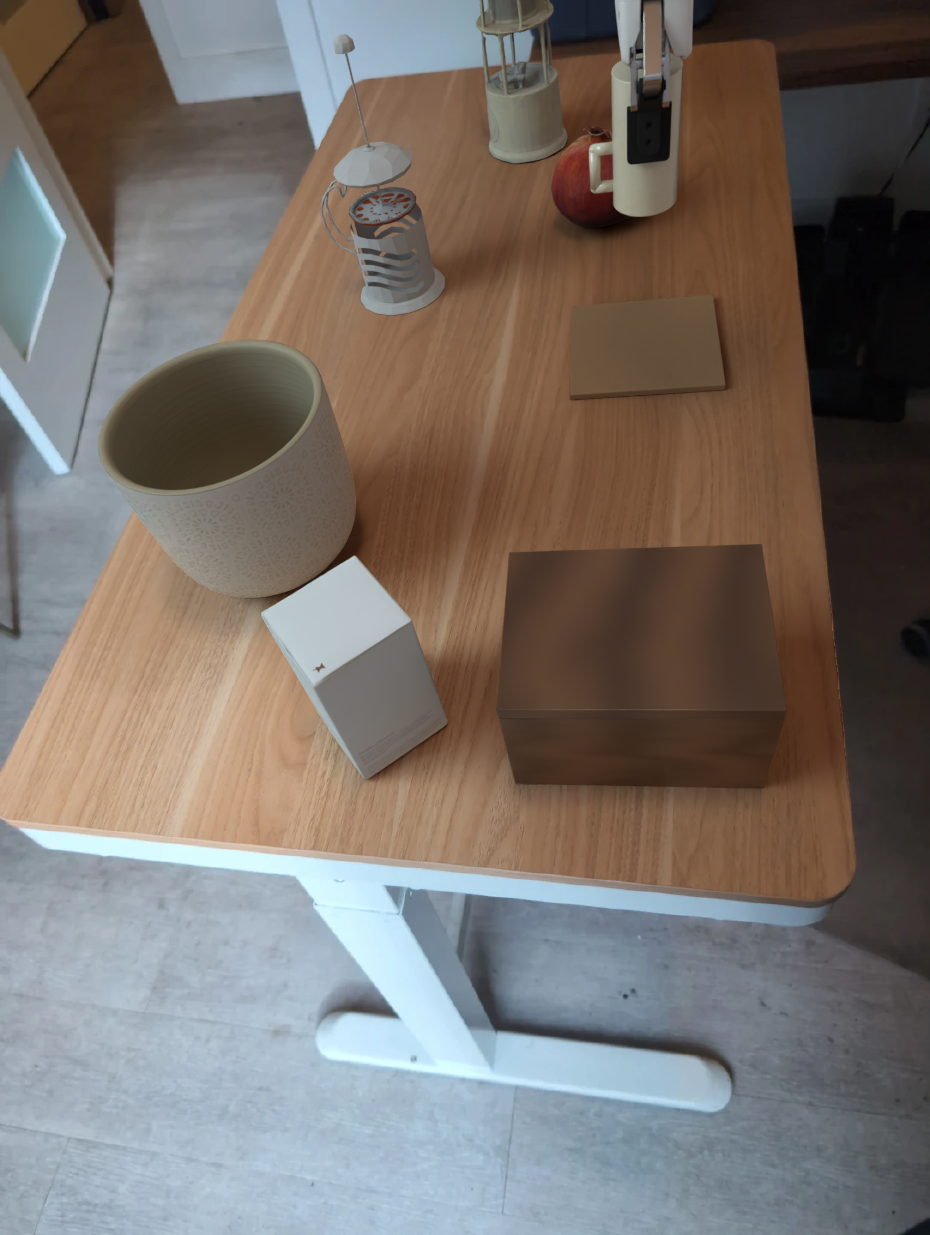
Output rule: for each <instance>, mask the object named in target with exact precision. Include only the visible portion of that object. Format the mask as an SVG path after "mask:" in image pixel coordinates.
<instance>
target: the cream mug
mask: <svg viewBox="0 0 930 1235" xmlns="http://www.w3.org/2000/svg"><path fill="white" fill-rule="evenodd" d="M662 55H664V52H662ZM670 57H671V62H670V100H669V101H672V116H671V141H670V157H669V159H668V160H666V161H660V162H651V163H643V164H634V165H630V164H629V163H628V162H627V106H630V67H629V66H627V65H625V64H624V63H623V62H622V61H621V60H619V61H617V62H616V63H615V64H614V65H613V67H612V68H611V71H610V80H611V82H610V83H611V85H610V86H611V87H610V88H611V132H612V142H604V143H596V144H592V145H591V146H590V148H589V169H590V190H591V192H592V193H595V194H596V193H606V192H613V205H614V207H615V209H616V210H617V211H619V212H620V213H622V214H625V215H629V216H630V217H636V218H637V217H640V218H641V217H642V218H643V217H652V216H655V215H659V214H662V213H664V212H666V211H668V210H669V209H671V208H672V207H673V206H674V205H675V204H676V202H677V198H678V184H679V183H678V182H679V179H678V178H679V163H680V162H679V161H680V160H679V159H680V140H681V139H680V138H681V120H682V119H681V118H682V117H681V116H682V100H683V99H682V98H683V97H682V96H683V78H684V77H683V76H684V61H683V59H682V57H681V56H678V57H675V56H674V53H672V52H670ZM637 58H643V53H640V54H636V59H637ZM639 78H643V69H638V81H639ZM603 155H612V162H613V180H604V181H601V160H600V156H603Z"/></svg>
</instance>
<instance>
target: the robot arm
mask: <svg viewBox="0 0 930 1235" xmlns="http://www.w3.org/2000/svg"><path fill="white" fill-rule="evenodd" d="M614 7H615V19H616V27H617V36H618V44H619V53H620V61H622V62H623V63H624V64H625V65H627V66H629V67H630V106H627V162H628V163H629V164H630V165H634V164H643V163H651V162H660V161H666V160H668V159H669V157H670V141H671V116H672V101H669V100H670V62H671V57H670V53H671V50H672V52H673V53H672V54H674V56H675V57H678V56H679V57H681V59H682V60H687V59H688V58H689V57H690V56H691V54H692V52H693V30H694V29H693V26H694V23H693V22H694V0H614ZM662 52H664V55H662ZM640 53H643V58H637V59H636V54H640ZM638 69H643V78H639V81H638Z"/></svg>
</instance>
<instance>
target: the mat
mask: <svg viewBox="0 0 930 1235" xmlns="http://www.w3.org/2000/svg"><path fill="white" fill-rule="evenodd" d="M571 310H572V311H571V336H570V337H571V338H570V377H569V400H570V401H574V400H590V399H604V398H606V399H607V398H618V397H619V398H621V397H635V396H636V397H637V396H649V395H650V396H651V395H652V396H653V395H664V394H665V395H666V394H681V393H698V392H712V391H713V392H714V391H725V390H726V377H725V371H724V370H725V369H724V363H723V356H722V350H721V342H720V336H719V328H718V321H717V320H718V319H717V314H716V306H715V298H714V294H713V293H712V294H702V295H701V294H700V295H689V296H677V297H665V298H653V299H643V300H642V299H641V300H630V301H619V302H608V303H607V302H606V303H594V304H582V305H573V306H571Z"/></svg>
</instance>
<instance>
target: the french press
mask: <svg viewBox="0 0 930 1235" xmlns="http://www.w3.org/2000/svg"><path fill="white" fill-rule="evenodd" d="M354 42H355V41H354V39H353V38H352V37H351V36H350V35H348V34H347V33H345V34H339V35H338V36H336V37H335V39H334V40H333V44H332V46H333V51H334V53H335V54H336V55H344V56H345V60H346V64H347V69H348V72H349V76H350V80H351V85H352V88H353V94H354V97H355V102H356V105H357V109H358V110H357V111H358V114H359V117H360V122H361V126H362V130H363V134H364V139H365V142H366V144H363V145H361V146H358V147H356V148H354V149H351V150H350V151H349V152H348V153H346V155H344V157H343V158H342V159H341V160H340V161H339V162H338V163H337V164H335V166H334V168H333V174H332V175H333V177H334V178H335V179H334V180H332V181H331V183H330V184H329V185H328V188H327V189H326V191H325V193H324V194H323V196H322V198H321V202H320V203H321V204H320V217H321V220H322V222H323V225H324V229H325V231H326V232H327V234H328V236H329V237H330V238H331V239H332V241H333V242H334V243H335V244H336V245H338V246H339V247H340V248H341V249H342V250H344V251H347V252H350V253H351V254H354V255H355V256H356V258H357V261H358V266H359V268H360V271H361V276H362V278H363V282H364V286H363V288H362V289H361V291H360V292H361V294H360V302H361V303H362V305H363V306H364V308H365V309H366V310H368V311H370V312H373V313H375V314H377V315H386V316H396V315H405V314H410V313H412V312H416V311H419V310H420V309H424V308H426V307H428V306H429V305H430V304H432V303H433V302H434V301H436V300H437V299H438V298H439V297H440V295H441V294H442V293H443V291H444V289H445V288H446V286H445V285H446V277H445V276H444V275H443V273H442V272H441V270H439V269H438V268H435V267H434V264H433V259H432V254H431V251H430V250H431V249H430V245H429V240H428V236H427V231H426V226H425V221H424V216H423V212H422V209H421V207H420V206H419V204H418V203H417V196H416V194H415V193H414V192H413V191H412V190H411V189H407V188H405V187H402V186H398V187H397V186H389V187H388V186H386V187H383V188H382V187H381V186H384V185H387V184H391V183H393V182H395V181H396V180H398V179H400V178H401V177H403V176H405V175H406V173H407V172H408V171H409V170H410V169H411V167H412V162H413V158H414V157H413V156H414V155H413V154H412V153H411V151H410V150H409V148H406V147H404V146H401V145H399V144H396V143H391V142H388V141H373V142H369V139H368V135H367V130H366V125H365V122H364V118H363V114H362V108H361V104H360V101H359V97H358V96H359V95H358V92H357V89H356V84H355V80H354V77H353V72H352V68H351V63H350V59H349V55H348V54H349V53H351V52H353V51H354V50H355V49H356V46H355V43H354ZM336 183H339V184H340V185H342V186H343V187H344V190H343V191H342V188H341V187H340V186H339V185H335V184H336ZM348 188H349V189H370V188H376V189H374V190H371V191H368V192H365V193H363V194H362V195H360V196H358V198H356V199H355V200H354V201H352V203H351V205H350V206H349V209H348V215H349V217H350V218H351V220H352V221H353V224H354V227H355V231H356V234H355V232H354V229H353V228H354V227H353V224H352V223H350V225H349V230H350V234H351V237H352V239H351V238H349V237H348V236H346V235H345V234H344V233H342V232H341V230H340V229H339V228H338V226H336V223H335V222H334V220H333V218H332V215H331V212H330V207H329V194H330V192H331V191H332V190H334V189H337V191H338V193H339V196H340V197H341V198H345V197H346V194H347V191H348ZM324 206H325V209H326V212H327V217H328V219H329V221H330V223H331V224H332V226H333V228H334V229H335V231H336V232H337V233H338V235H339V236H341V237H342V238H343V239H344V240H346V241H347V242H350V243H352V244H354V248H355V250H356V251H354V250H352V249H350V248H348V247H346V246H345V245H343V244H342V243H341V242H338V241H337V239H336V238H335V237H334V236H333V234H332V233H331V231H330V229H329V227H328V225H327V222H326V218H325V216H324ZM406 216H408V217H409V218H411V219H413V220H414V221H415V223H413V222H411V221H409V220H408V219H406V218H405V217H406ZM393 223H401V224H404V225H406V226H407V227H409V228H408V229H407V228H405V227H403V226H390V227H387V228H386V229H384V230H382V231H380V233H378V234H377V235H375V233H376V232H377V231H378V230H379V229H380V227H382V226H386V225H391V224H393ZM391 234H396V235H393V236H389V235H391ZM387 236H388V237H387ZM413 250H416V252H414V251H413ZM360 251H361V252H360ZM382 253H385V254H384V255H383V256H381V254H382ZM363 262H364V264H363ZM366 272H367V274H366Z"/></svg>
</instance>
